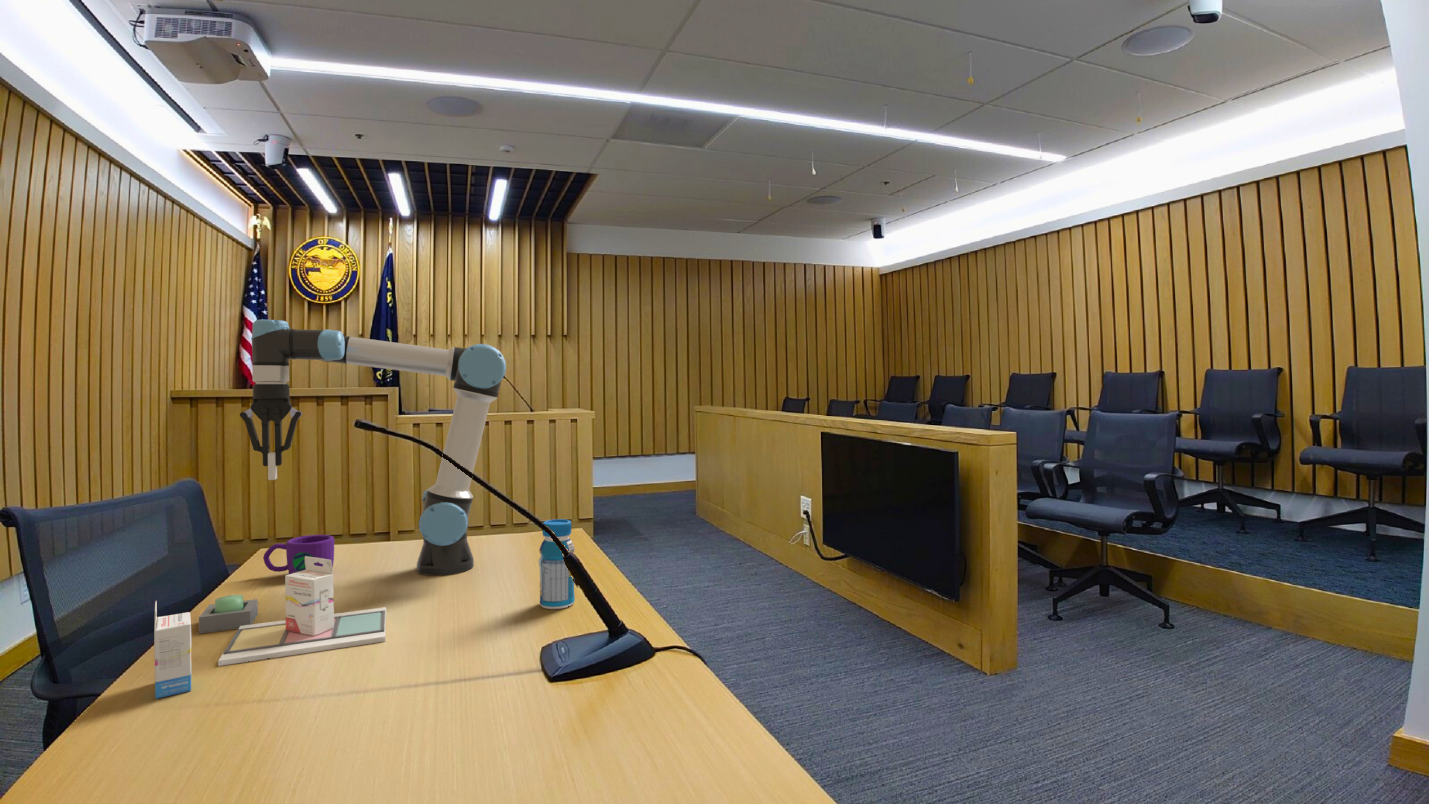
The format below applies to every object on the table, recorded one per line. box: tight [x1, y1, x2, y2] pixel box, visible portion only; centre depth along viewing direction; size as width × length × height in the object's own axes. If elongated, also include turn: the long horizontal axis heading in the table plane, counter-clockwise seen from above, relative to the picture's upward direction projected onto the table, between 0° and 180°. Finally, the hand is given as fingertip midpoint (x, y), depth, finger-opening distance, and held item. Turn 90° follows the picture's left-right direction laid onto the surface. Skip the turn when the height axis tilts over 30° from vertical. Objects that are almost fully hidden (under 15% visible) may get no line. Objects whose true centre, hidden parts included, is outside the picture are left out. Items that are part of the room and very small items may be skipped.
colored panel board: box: [217, 606, 387, 667], centre depth 140 cm, size 28×20×1 cm
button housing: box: [198, 598, 259, 635], centre depth 147 cm, size 9×9×4 cm
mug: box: [262, 534, 335, 575], centre depth 184 cm, size 17×11×10 cm, turn 103°
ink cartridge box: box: [284, 556, 335, 636], centre depth 139 cm, size 9×5×15 cm, turn 70°
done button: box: [214, 594, 244, 613], centre depth 147 cm, size 5×5×5 cm
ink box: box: [153, 600, 192, 700], centre depth 116 cm, size 8×5×15 cm, turn 39°
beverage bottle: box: [538, 518, 576, 610], centre depth 160 cm, size 8×8×20 cm
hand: (272, 479), depth 164 cm, fingers closed
